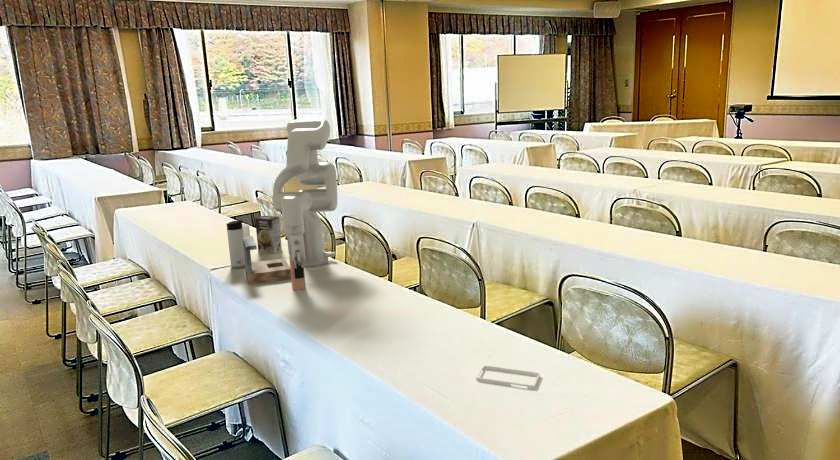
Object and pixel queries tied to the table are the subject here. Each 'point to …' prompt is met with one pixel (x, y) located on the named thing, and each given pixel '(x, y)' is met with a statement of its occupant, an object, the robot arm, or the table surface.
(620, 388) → the table surface
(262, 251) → the coffee box
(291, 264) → the peg
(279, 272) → the socket block
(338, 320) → the table surface
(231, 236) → the travel mug
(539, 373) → the rectangular ring
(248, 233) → the drinking glass
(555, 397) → the table surface
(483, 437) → the table surface
